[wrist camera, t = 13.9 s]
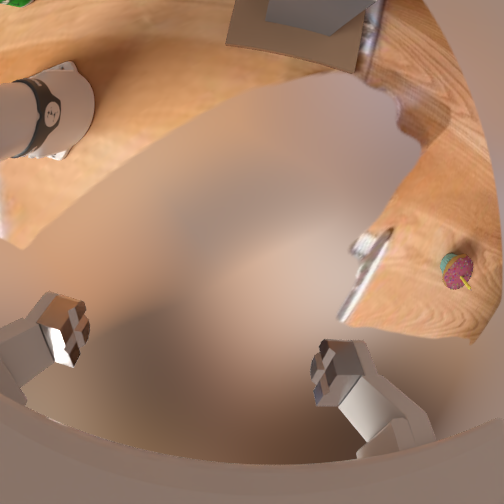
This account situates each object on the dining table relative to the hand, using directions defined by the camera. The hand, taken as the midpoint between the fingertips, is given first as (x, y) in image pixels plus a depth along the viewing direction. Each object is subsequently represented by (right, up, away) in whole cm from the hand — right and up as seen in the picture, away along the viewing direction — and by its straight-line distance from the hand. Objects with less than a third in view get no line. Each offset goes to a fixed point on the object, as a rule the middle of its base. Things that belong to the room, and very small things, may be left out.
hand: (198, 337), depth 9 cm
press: (+9, +41, +22) cm, 48 cm away
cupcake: (+47, +1, +45) cm, 65 cm away
